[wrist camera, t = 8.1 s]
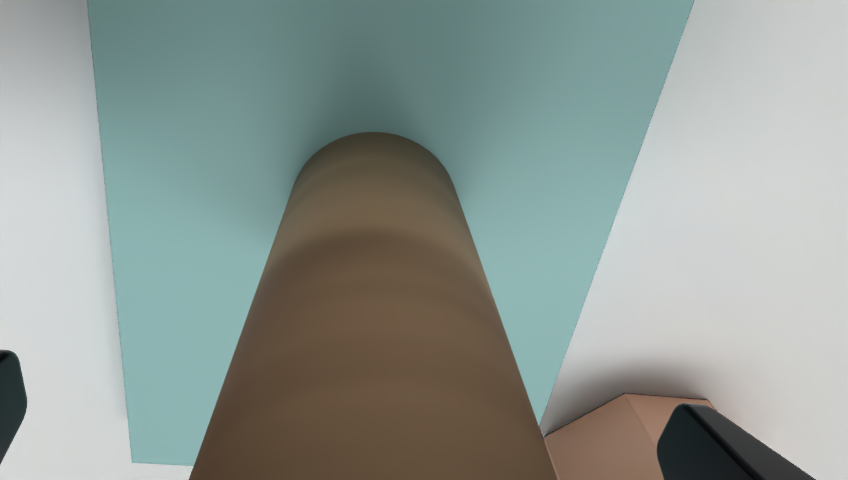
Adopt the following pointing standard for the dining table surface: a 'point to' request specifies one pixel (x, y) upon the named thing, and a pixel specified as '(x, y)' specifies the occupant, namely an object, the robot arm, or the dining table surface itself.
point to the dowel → (373, 337)
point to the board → (341, 116)
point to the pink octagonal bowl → (614, 440)
